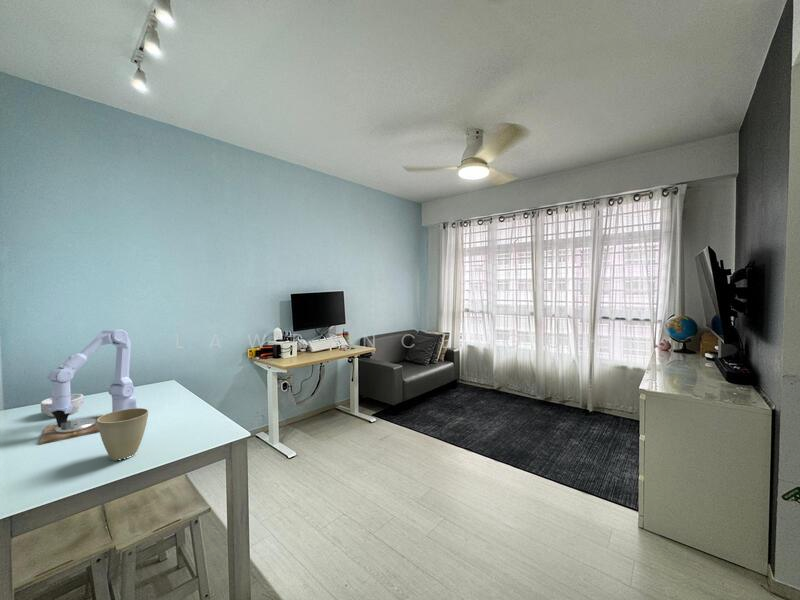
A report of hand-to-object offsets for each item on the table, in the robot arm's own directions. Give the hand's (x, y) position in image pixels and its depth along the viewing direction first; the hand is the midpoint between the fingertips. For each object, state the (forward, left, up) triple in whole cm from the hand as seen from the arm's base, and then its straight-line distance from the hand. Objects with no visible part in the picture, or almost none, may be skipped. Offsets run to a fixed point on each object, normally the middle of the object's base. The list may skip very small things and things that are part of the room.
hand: (62, 426), depth 142 cm
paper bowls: (+2, -33, -4) cm, 33 cm away
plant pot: (-19, +42, -4) cm, 46 cm away
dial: (-4, -2, -2) cm, 5 cm away
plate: (-4, -2, -3) cm, 6 cm away
